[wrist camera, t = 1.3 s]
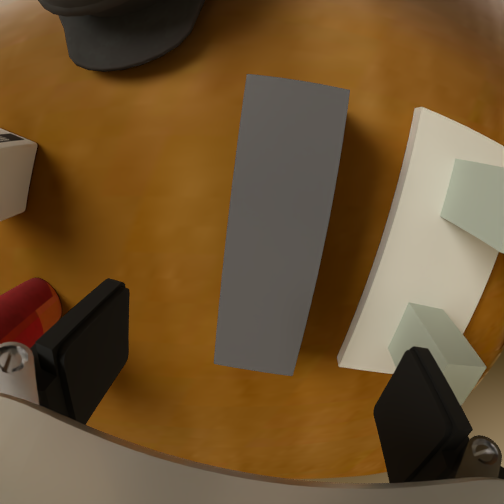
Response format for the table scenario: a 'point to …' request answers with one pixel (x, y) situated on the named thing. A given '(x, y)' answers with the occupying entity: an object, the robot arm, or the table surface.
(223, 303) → the bar
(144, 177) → the table surface
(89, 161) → the table surface
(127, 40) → the casserole
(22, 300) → the coffee cup
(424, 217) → the stand
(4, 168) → the container
